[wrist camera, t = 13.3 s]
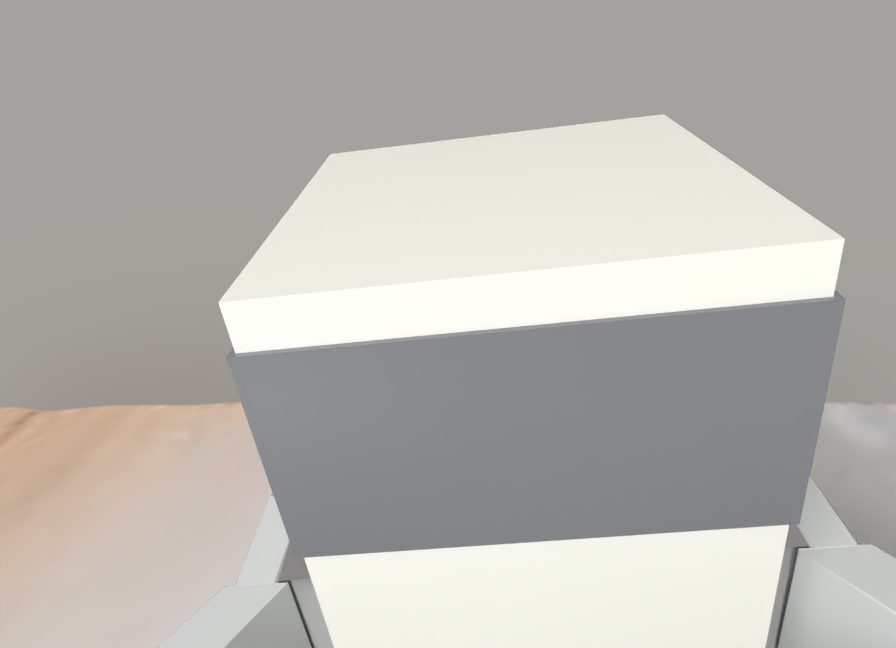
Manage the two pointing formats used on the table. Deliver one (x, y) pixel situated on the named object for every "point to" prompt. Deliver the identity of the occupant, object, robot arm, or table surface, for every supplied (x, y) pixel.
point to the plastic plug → (539, 388)
